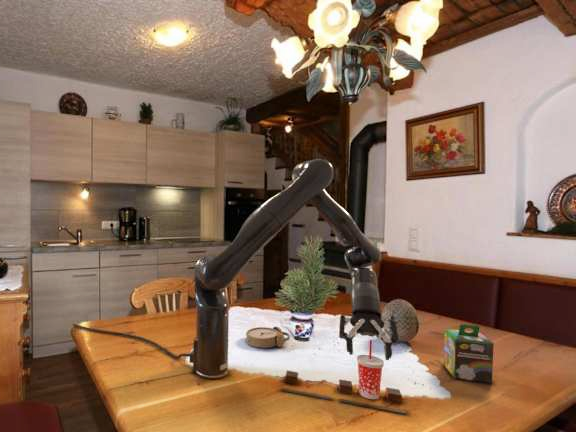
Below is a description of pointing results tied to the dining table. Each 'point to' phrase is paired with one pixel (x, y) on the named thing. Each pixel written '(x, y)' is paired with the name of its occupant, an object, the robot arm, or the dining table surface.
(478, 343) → the chalk box
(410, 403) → the dining table surface
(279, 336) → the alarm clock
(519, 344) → the dining table surface
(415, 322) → the decorative egg
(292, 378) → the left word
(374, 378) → the beverage cup
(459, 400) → the dining table surface
